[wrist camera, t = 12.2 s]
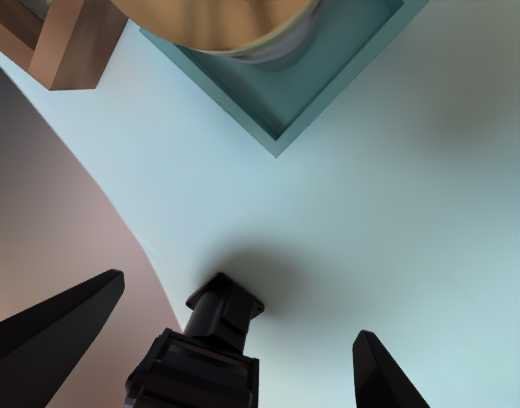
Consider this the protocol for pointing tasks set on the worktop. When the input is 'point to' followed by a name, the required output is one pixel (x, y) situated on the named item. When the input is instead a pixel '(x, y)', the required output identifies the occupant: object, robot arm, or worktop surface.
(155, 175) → the worktop surface
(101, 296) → the robot arm
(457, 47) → the worktop surface
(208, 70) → the teal tray
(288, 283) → the worktop surface
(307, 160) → the worktop surface
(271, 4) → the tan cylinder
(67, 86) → the brown square frame
